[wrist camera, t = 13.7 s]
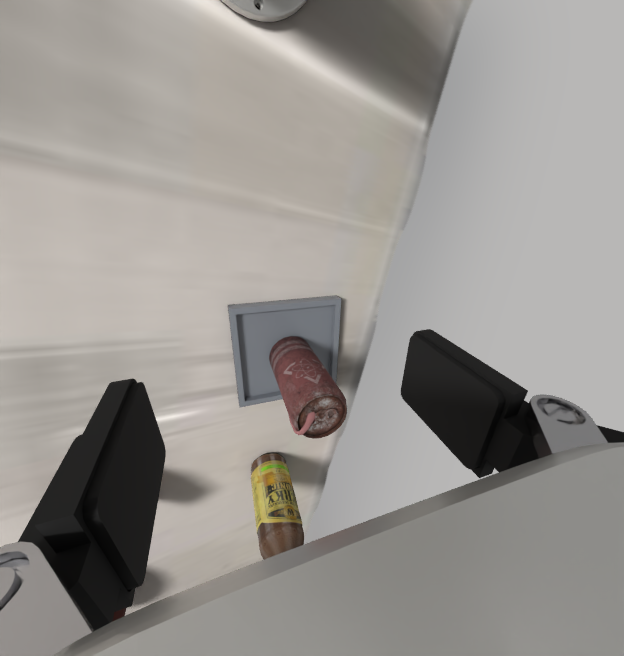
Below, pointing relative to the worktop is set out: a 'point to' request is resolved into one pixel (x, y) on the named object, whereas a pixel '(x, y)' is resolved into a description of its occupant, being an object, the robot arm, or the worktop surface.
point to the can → (307, 389)
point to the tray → (273, 325)
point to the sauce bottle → (275, 506)
